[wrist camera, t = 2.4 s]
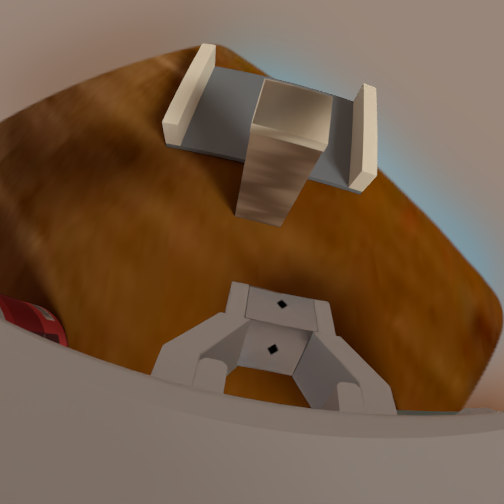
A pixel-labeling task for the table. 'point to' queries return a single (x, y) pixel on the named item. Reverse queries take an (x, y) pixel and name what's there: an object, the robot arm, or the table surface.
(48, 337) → the canned food
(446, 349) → the table surface
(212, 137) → the rubber mat with end rails
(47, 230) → the table surface
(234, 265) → the table surface
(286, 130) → the walnut block
